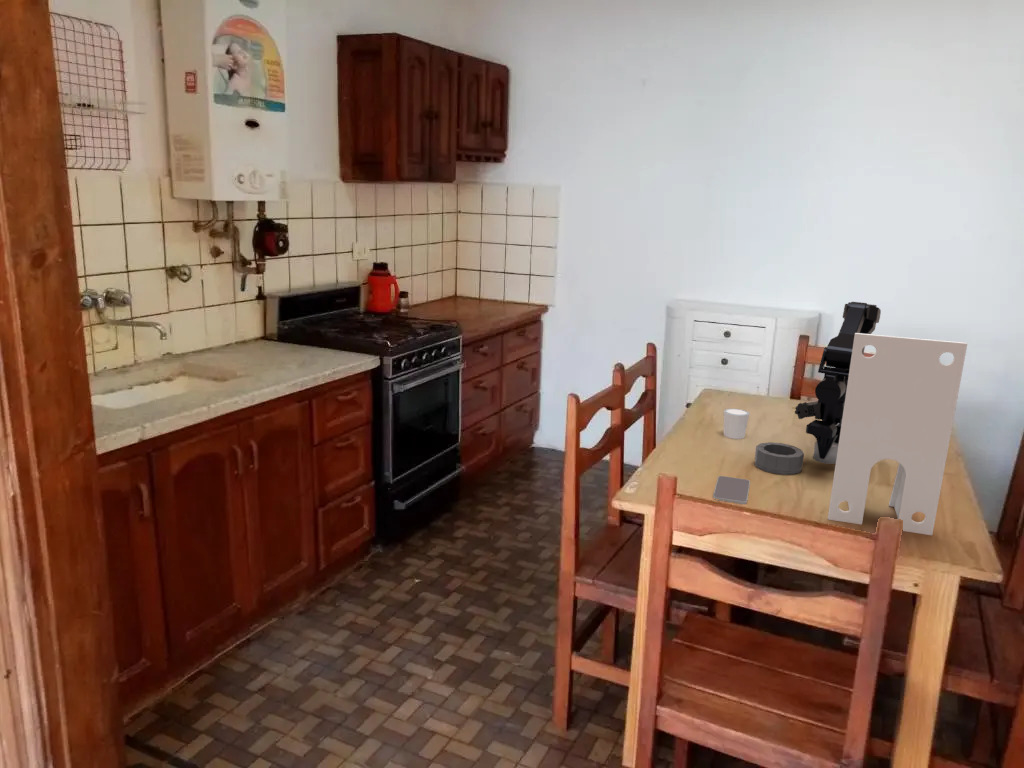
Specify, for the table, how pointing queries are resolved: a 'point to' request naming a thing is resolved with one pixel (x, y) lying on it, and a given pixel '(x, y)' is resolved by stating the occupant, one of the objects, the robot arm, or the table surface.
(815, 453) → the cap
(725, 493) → the grey square plate
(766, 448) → the grey ring
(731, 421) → the white cylinder
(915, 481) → the white bracket plate
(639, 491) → the table surface
